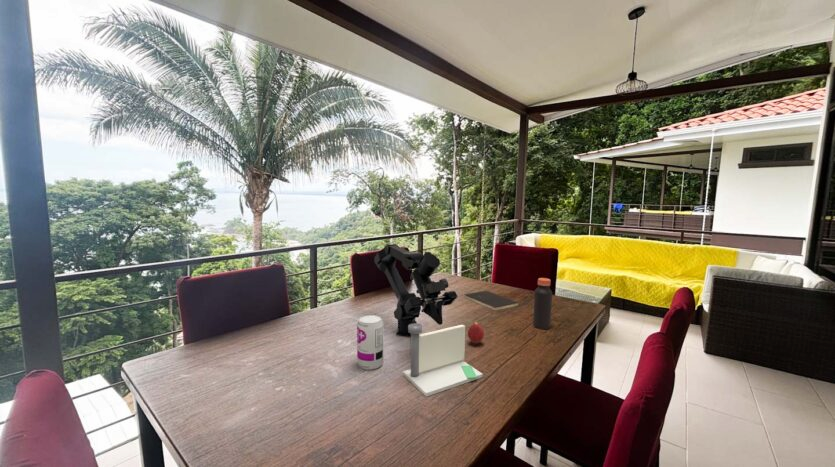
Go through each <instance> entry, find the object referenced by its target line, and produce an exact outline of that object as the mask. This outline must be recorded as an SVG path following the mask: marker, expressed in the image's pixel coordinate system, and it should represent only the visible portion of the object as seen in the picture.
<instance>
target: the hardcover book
mask: <svg viewBox="0 0 835 467" xmlns="http://www.w3.org/2000/svg"><path fill="white" fill-rule="evenodd" d="M464 298H465V299H466V300H470V301H472V302H475V304H476V303H477V304H479V305H480V306H483V307H485V308H488V309H490V310H492V311H500V310H503V309H509V308H513V307H517V306H518V307H519V306H520V302H519V301H516V300H513V299H510V298H508V297H506V296H504V295H503V296H502V295H500V294H498V293H494V292H492V291H489V290H482V291H476V292H472V293H466V294H465V293H464Z"/></svg>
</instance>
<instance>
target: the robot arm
mask: <svg viewBox="0 0 835 467" xmlns="http://www.w3.org/2000/svg"><path fill="white" fill-rule="evenodd" d="M373 260H374V264H375V265H376V267H377V268H378V269H379V270H380V271H381V272H383V273H384V274H385V276H386V278H387V280H388V282H389V284H390V286H391V289H392V291H393V292H394V295H395V296H396V299H397V302H396V308H395V309H394V311H393V316H394V317H393V318H395V319H396V320H397V331H396V333H395V335H397V336H404V337H410V338H411V333H409V332H408V325H409V324H413V323H417V324H418V322H417V321H416V318H419V317H420V314H421V313H424V314H426V315H427V316H429V317H430V319H433V321H434V322H436V323H437V324H438V325H439V326H441V325H443V307H445V306H450V305H452V304H453V303H454V302H455V301H456V299H458V297H459V296H458V294H457V291H454V290H449V291H446V289H448V288H449V287H450V286H449V282H448V281H447V278H441V279H439V281H434V280H431V277H432V276H433V274H434V273H435V272H436V270H437V269H438V268H439V266H440V265H441V260H440V258H438V257H437V256H436V255H434V254H433V253H432V252H431V251H425V252H424V254H423V253H422V252H417V251H416V252H415V251H409V250H407V249H405V248H403V247H400V246H399V245H398V244H396V243H393V244H386V245H384V247H383V248H382V249H380V250H378V251H377V252H376V255H375V256H374V258H373ZM397 260H398V261H400V262H401V263H402V266H403V268H404V269H406V270H408V271H409V270H413V271H411V274H410V276H409V277H410V278H409V279H410V281H412V280H413V281H414V282H413V283H414V284H415V287H416V290H415V291H416V293H415V292H409V291H408V289H407V287H406V285H405V283H404V281H403V279H402V277H401V276H400V274H399V271H398V269H397V267H396V264H397ZM443 291H445V292H444V293H443V294H442V292H443ZM416 294H419V296H417V295H416ZM441 294H442V295H441Z"/></svg>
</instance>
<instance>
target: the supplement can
mask: <svg viewBox="0 0 835 467" xmlns="http://www.w3.org/2000/svg"><path fill="white" fill-rule="evenodd" d="M356 346H357V347H356V353H357V355H356V358H357V362H356V363H357V365H358V367H359V368H361V369H362V370H366V371H367V370H368V371H371V370H376V369H378V368H380V367H381V366H382V365H383V364H384V321H383V319H382V317H381V316H379V315H375V314H368V315H362V316H360V317H359V318H358V321H357V323H356Z"/></svg>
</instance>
